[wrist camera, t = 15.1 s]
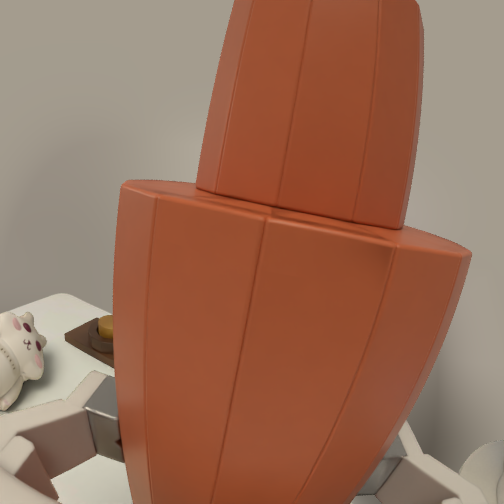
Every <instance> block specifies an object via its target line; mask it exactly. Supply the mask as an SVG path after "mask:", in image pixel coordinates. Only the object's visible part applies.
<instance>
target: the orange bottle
mask: <svg viewBox="0 0 504 504" xmlns="http://www.w3.org/2000/svg"><path fill="white" fill-rule="evenodd" d="M423 66H424V29H423V24H422V18H421V13H420V8H419V5H418V4H417V2H416V1H415V0H235V1H234V4H233V8H232V12H231V16H230V20H229V24H228V28H227V31H226V35H225V40H224V44H223V48H222V52H221V56H220V61H219V65H218V70H217V74H216V79H215V83H214V88H213V93H212V98H211V103H210V107H209V113H208V117H207V122H206V128H205V133H204V138H203V144H202V150H201V155H200V161H199V167H198V173H197V180H196V183H187V182H176V181H163V180H127V181H126V182H125V183H123V184H122V186H121V189H120V198H119V206H118V217H117V227H116V241H115V255H114V276H113V348H114V369H115V384H116V396H117V406H118V416H119V424H120V432H121V440H122V446H123V453H124V459H125V465H126V471H127V476H128V481H129V486H130V491H131V496H132V500H133V504H350V503H351V501H352V500H353V499H354V497H355V496H356V495H357V494H358V492H359V491H360V490H361V488H362V487H363V486H364V484H365V483H366V482H367V480H368V479H369V477H370V476H371V475H372V473H373V472H374V470H375V469H376V467H377V466H378V464H379V463H380V461H381V460H382V458H383V457H384V455H385V454H386V452H387V451H388V449H389V448H390V446H391V444H392V443H393V441H394V440H395V438H396V436H397V435H398V433H399V431H400V429H401V428H402V426H403V424H404V423H405V421H406V419H407V417H408V415H409V414H410V412H411V410H412V408H413V406H414V404H415V402H416V400H417V399H418V397H419V395H420V392H421V391H422V389H423V387H424V385H425V383H426V380H427V378H428V376H429V374H430V372H431V370H432V368H433V365H434V363H435V361H436V358H437V356H438V354H439V352H440V349H441V347H442V344H443V342H444V339H445V337H446V334H447V332H448V329H449V326H450V324H451V321H452V318H453V316H454V313H455V310H456V307H457V304H458V301H459V298H460V295H461V292H462V289H463V285H464V282H465V279H466V275H467V272H468V268H469V264H470V261H471V257H472V252H471V251H469V250H468V249H466V248H464V247H462V246H461V245H458V244H457V243H455V242H452V241H449V240H447V239H444V238H441V237H439V236H436V235H433V234H431V233H428V232H425V231H421V230H418V229H415V228H412V227H408V226H405V225H404V220H405V215H406V210H407V206H408V200H409V195H410V189H411V184H412V177H413V172H414V165H415V158H416V151H417V143H418V135H419V126H420V116H421V104H422V89H423Z"/></svg>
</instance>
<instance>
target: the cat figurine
mask: <svg viewBox="0 0 504 504" xmlns="http://www.w3.org/2000/svg"><path fill="white" fill-rule="evenodd" d="M46 343H47V341H46V338H45V337H44V336H42V335H39V334H38V332H37V330H36V329H35V327H34V318H33V315H32V314H31V313H30V312H26V313H25V314H24V315H22V316H20V317H18V316H16V315H15V314H13V313H11V312H4V313H2V314H1V315H0V410H7V409H8V408H9V407H10V406H11V405H12V404H13V403H14V402H15V400H16V399H17V397H18V395H19V393H20V391H21V388H22V385H23V382H24V381H27V380H28V379H31V380H37V379H40V378H41V376H42V374H43V371H44V359H43V350H42V348H43V347H45V345H46Z"/></svg>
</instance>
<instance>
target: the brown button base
mask: <svg viewBox="0 0 504 504" xmlns="http://www.w3.org/2000/svg"><path fill="white" fill-rule="evenodd" d="M98 320H99V318H95V319H93V320H91V321H89V322H87V323H85V324H83V325H81V326H79V327H77V328H75V329H73V330H71V331H69V332H67V333H65V341H67V342H68V343H70V344H72V345H73V346H75V347H77V348H79V349H80V350H82V351H84V352H85V353H87V354H89V355H91V356H93V357H94V358H96V359H98V360H100V361H102V362H103V363H105V364H107V365H109V366H111V367H113V368H114V348H113V339H110V338H104V337H102V336H100V335H99V331H98Z"/></svg>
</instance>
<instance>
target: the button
mask: <svg viewBox="0 0 504 504" xmlns="http://www.w3.org/2000/svg"><path fill="white" fill-rule="evenodd" d="M98 331H99V335H100V336H102V337H104V338H110V339H113V315H107V316H103V317H101V318H100V319H99V320H98Z"/></svg>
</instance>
